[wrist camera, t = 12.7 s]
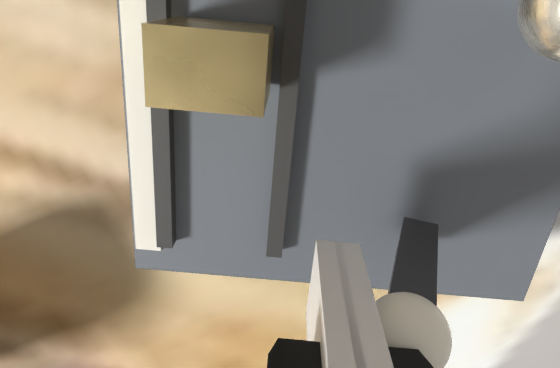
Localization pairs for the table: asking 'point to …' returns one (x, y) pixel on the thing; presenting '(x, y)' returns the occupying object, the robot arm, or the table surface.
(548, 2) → the steel lever
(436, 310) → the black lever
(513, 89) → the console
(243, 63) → the brass slider
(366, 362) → the robot arm
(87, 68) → the table surface
